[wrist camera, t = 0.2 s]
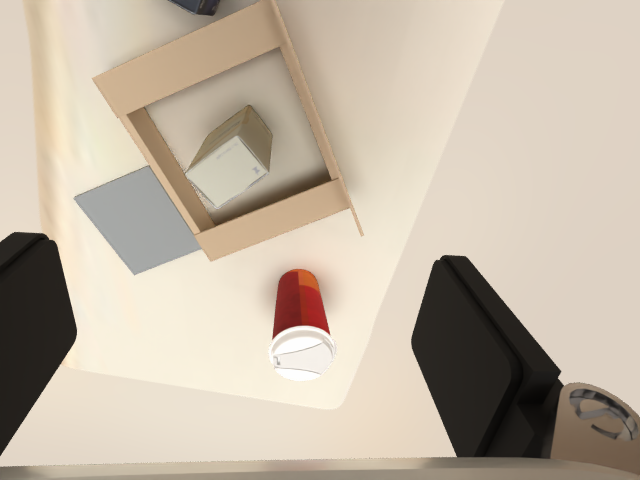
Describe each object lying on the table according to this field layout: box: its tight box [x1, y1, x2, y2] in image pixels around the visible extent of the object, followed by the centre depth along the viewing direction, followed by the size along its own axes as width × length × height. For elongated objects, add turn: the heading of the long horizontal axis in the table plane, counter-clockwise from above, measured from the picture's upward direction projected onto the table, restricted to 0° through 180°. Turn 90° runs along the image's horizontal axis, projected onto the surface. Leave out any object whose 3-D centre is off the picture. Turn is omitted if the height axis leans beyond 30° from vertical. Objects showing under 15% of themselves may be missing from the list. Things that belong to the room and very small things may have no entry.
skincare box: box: [185, 105, 272, 209], centre depth 38 cm, size 6×4×12 cm
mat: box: [73, 165, 202, 275], centre depth 48 cm, size 12×10×1 cm
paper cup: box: [268, 269, 337, 381], centre depth 49 cm, size 8×8×14 cm
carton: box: [92, 0, 364, 262], centre depth 38 cm, size 22×18×12 cm
